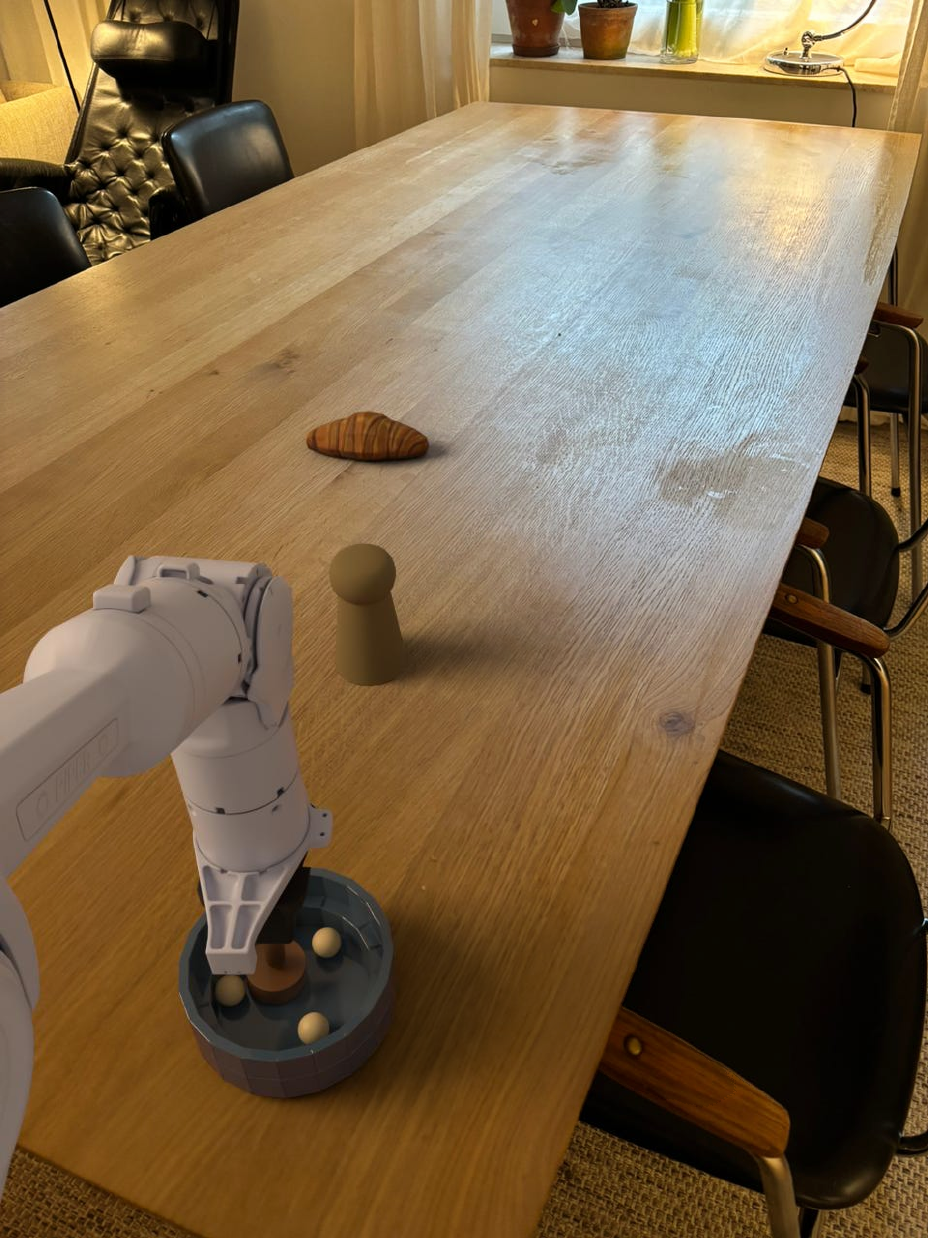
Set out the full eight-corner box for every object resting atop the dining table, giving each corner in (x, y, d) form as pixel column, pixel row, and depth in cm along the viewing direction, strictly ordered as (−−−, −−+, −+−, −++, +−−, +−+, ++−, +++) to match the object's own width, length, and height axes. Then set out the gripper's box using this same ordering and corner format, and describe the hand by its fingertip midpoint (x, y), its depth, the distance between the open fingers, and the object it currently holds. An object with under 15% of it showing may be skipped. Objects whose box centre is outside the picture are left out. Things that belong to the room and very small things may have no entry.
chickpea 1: (239, 1015, 59) (212, 1011, 58) (233, 993, 61) (206, 988, 60) (253, 991, 59) (226, 987, 58) (247, 970, 60) (220, 965, 59)
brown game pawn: (421, 652, 84) (415, 547, 77) (379, 695, 80) (369, 589, 73) (363, 627, 86) (353, 523, 79) (320, 668, 82) (305, 563, 75)
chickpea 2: (317, 966, 61) (321, 942, 60) (306, 949, 62) (309, 924, 62) (344, 960, 62) (347, 936, 61) (332, 943, 63) (335, 919, 62)
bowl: (235, 1144, 54) (219, 1104, 51) (168, 966, 62) (151, 921, 59) (432, 1035, 59) (429, 992, 55) (346, 882, 67) (339, 837, 63)
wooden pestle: (257, 1014, 59) (249, 931, 53) (238, 963, 61) (229, 878, 55) (315, 991, 60) (313, 907, 54) (294, 942, 62) (290, 856, 57)
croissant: (300, 467, 106) (294, 425, 103) (313, 434, 111) (308, 394, 108) (425, 473, 105) (423, 431, 102) (433, 440, 110) (431, 399, 107)
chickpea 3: (307, 1057, 57) (303, 1042, 56) (295, 1031, 58) (291, 1016, 57) (335, 1042, 58) (332, 1027, 56) (323, 1016, 59) (320, 1001, 58)
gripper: (302, 897, 42) (333, 1048, 51) (337, 664, 53) (358, 822, 62) (138, 898, 42) (197, 1048, 51) (207, 665, 53) (246, 822, 62)
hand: (277, 924), depth 57 cm, fingers closed on wooden pestle
